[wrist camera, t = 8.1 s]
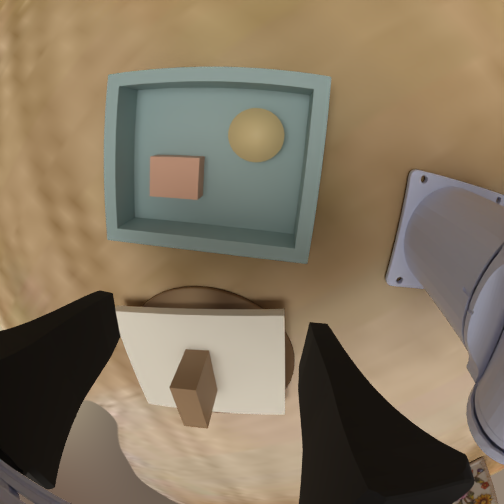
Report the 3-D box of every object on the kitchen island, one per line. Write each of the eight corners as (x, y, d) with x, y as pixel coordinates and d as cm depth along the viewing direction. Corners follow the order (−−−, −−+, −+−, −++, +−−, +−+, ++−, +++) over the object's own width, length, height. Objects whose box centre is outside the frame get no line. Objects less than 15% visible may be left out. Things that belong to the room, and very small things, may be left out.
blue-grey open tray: (323, 85, 15) (331, 76, 12) (304, 244, 19) (307, 263, 16) (132, 80, 16) (108, 74, 13) (129, 224, 20) (107, 239, 17)
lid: (284, 302, 20) (283, 357, 15) (285, 401, 24) (283, 452, 19) (121, 300, 22) (85, 342, 17) (153, 391, 26) (134, 435, 21)
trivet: (309, 299, 21) (309, 302, 20) (280, 417, 26) (280, 420, 26) (121, 273, 21) (119, 276, 21) (143, 393, 27) (142, 396, 26)
